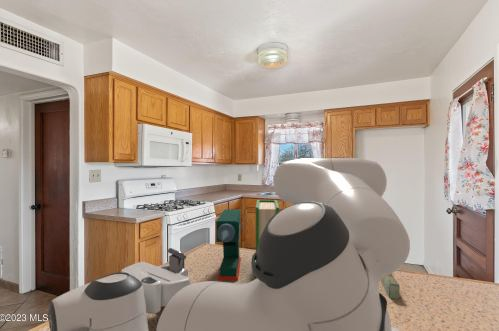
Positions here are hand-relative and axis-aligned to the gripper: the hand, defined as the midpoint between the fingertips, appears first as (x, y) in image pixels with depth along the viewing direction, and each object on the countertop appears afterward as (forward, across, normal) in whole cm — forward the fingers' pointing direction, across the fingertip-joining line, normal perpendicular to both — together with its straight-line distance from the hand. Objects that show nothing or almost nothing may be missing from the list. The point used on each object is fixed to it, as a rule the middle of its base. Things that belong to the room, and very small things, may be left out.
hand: (179, 269), depth 73 cm
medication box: (+41, +46, -9) cm, 62 cm away
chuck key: (-1, 0, -8) cm, 8 cm away
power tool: (+20, +1, -9) cm, 22 cm away
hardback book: (+31, +9, -9) cm, 34 cm away
